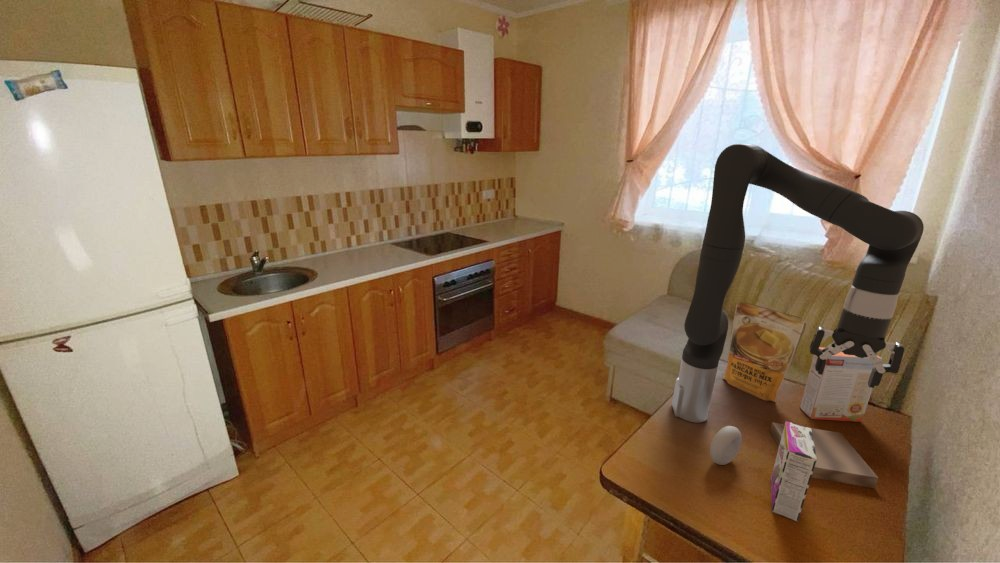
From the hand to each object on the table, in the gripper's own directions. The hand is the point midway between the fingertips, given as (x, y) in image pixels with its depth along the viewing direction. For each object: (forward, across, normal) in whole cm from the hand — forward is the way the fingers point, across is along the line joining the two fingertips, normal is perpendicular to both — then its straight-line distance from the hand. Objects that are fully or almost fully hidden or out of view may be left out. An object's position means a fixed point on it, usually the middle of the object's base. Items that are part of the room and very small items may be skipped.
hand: (844, 379), depth 85 cm
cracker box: (+27, +5, +33) cm, 43 cm away
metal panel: (+27, +2, +9) cm, 28 cm away
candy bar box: (+27, -6, -12) cm, 30 cm away
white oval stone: (+27, -18, -7) cm, 33 cm away
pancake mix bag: (+27, -15, +35) cm, 47 cm away
